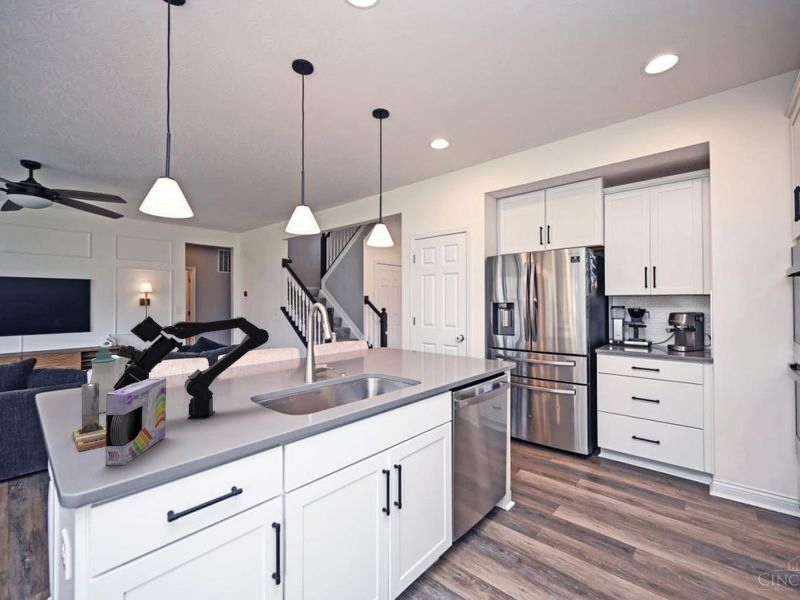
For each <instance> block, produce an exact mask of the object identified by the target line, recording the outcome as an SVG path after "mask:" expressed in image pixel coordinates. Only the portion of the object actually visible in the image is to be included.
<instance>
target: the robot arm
mask: <svg viewBox="0 0 800 600" xmlns="http://www.w3.org/2000/svg"><path fill="white" fill-rule="evenodd" d="M233 329H239V330H240V331H241V332H242V333H244V334H245V336H244V338H243V339H242V341H241V342H240V343H239V344H237V345H236V346H235V347H234V348H232V349H231V350H230V351H228V352H227V353H226V354H224V356H222V357H221V358H219V359H218V360H217V361H216V362H214V363H212V365H211V366H209V367H208V368H205V369H204V370H202V371H201V370H200V368H197V369H196V370H195V371H194V372H193V373H192V374H190V375H187V379H186V380H185V382H184V389H185V391H186V393H187V394H188V395H189V396H192V397H191V398H190V399H189V403H188V416H187V419H189V420H190V419H208V418H209V417H211V416H213V415H214V414H215V413H216V411H215V410H214V396H213V395H214V393H213V391H211V389H210V386H211V385H212V384H213V383H214V381H215V379H216V378H217V377H219V376H220V375H221V374H222V373H223V372H225V371H226V370H227V369H228V368H229V367H231V366H233V365H234V364H235V363H237V361H239V360H240V359H241V358H242V357H244V356H245V355H246V354H247V353H249V352H251V351H253V350H255V349H257V348H260V347H262V346H263V345H264V344H266V343H267V342H268V341H269V339H270V338H269V337H270V335H269V332H268V331H267V330H266V329H264V328H260V327H258V326H256V325H255V324H253V323H252V322H250V321H248V320H247V318H246V317H243V316H237V317H233V318H231V317H230V318H225V319H216V320H209V321H208V320H207V321H187V320H186V321H184V320H181V321H177V322H175V323H173V324H172V325H167V326H166V325H165V326H161V325H160V324H159V323H158V322H156V321H155V320H154V318H153V317H151V316H150V315H148V316H147V317H145V318H144V319H143V320H142V321H141V322H138V323H137V324H136V325H134V326H133V327H132V328H131V329H130V330H129V332H131V333H132V334H133V335H135V337H137V338H139V339H140V340H141V341H142V342H143V343H147V342H149V343H152V342H153V343H152V344H151V345H149V347H146V348H143V349H142V350H141V349H137V348H135V346H134V345H133V346H132V345H131V344H129V345H124V344H121V345H120V346H119V349H118V351H117V353H116V354H115V355H117V356H119V357H125V358H128V362H127V364H128V365H127V364H126V365H125V371H124V374H123V375H122V376H121V378H120V379H119V380H118V381H117V383H116V384H115V385H114V387H113V388H115V389H114V390H113V391H116V390H119V389H121V388H124V387H126V386H128V385H131V384H134V383H138V382H141V381H144V380H146V379H149V378H150V373H151V372H152V370H153V369H154V368H155V367H156V366H158V365H159V364H161V363H162V362H163V360H164V359H165V358H166V357H168V356H169V355H170V353H171V352H173V351H174V350H175V349H176V348H177V350H179V351H183V345H184V342H183V341H179V340H186V339H189V338H192V337H195V336H200V335H202V334H205V333H212V332H219V331H225V330H233ZM162 332H164V333H165V334H163V333H162ZM166 335H172V336H170V337H167V336H166ZM159 336H160V337H159ZM173 336H174V337H175V338H177V339H178V340H176V339H175V338H174V337H173Z"/></svg>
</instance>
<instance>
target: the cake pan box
mask: <svg viewBox="0 0 800 600" xmlns="http://www.w3.org/2000/svg"><path fill="white" fill-rule="evenodd" d="M166 400H167V378H166V377H157V376H156V377H149V379H146V380H144V381H141V382H138V383H134V384H131V385H128V386H126V387H124V388H121V389H119V390H116V391H113V392H110V393H107V395H106V412H105V425H106V446H104V447H105V465H116V466H117V465H118V466H125V465H126V464H128V463H129V462H131V461H132V460H134V459H135V458H137V456H139V455H141V454H142V453H144V452H145V451H146V450H148V449H149V448H151V447H152V446H153V445H154V444H157V443H158V442H159V441H161V440H162V439H163V438H165V437H166V415H167V414H166V411H167V410H166V407H167V406H166V405H167V403H166V402H167V401H166ZM130 460H131V461H130ZM127 462H128V463H127ZM124 464H125V465H124Z"/></svg>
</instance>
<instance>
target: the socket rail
mask: <svg viewBox="0 0 800 600" xmlns="http://www.w3.org/2000/svg"><path fill="white" fill-rule="evenodd" d="M72 437H73V440H74V442H75V445H76V447H77V451H78V450H79V451H81V452H84V451H83V450H85V451H88V450H87V449H89V450H92V449H91V448H94V449H97V448H96V447H98V448H101V446H103V447H105V446H106V423H102V424H100V423H99V431H94V432H89V433H84V434H82V427H80V428H75V429H72ZM100 439H102V440H100ZM95 440H97V441H95ZM90 441H92V442H90ZM86 442H88V443H86ZM79 451H78V452H79Z"/></svg>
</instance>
